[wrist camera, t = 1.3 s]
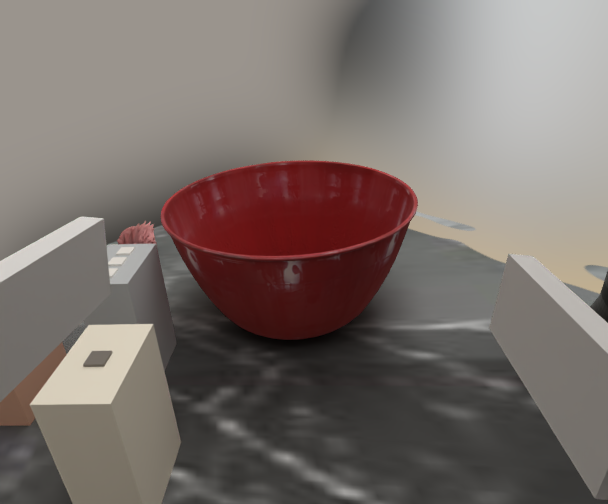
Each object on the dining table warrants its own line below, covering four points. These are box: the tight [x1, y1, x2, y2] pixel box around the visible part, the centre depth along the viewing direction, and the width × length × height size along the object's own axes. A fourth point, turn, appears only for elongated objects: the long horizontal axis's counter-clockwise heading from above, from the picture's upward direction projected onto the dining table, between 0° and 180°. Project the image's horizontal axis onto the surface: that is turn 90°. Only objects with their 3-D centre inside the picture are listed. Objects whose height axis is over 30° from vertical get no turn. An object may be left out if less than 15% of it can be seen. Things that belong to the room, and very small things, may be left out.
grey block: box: [84, 243, 177, 372], centre depth 46 cm, size 8×5×13 cm, turn 179°
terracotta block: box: [0, 342, 66, 426], centre depth 43 cm, size 8×5×13 cm, turn 179°
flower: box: [117, 221, 157, 246], centre depth 70 cm, size 8×8×6 cm
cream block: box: [30, 324, 181, 504], centre depth 34 cm, size 8×5×13 cm, turn 179°
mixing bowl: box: [161, 161, 418, 340], centre depth 55 cm, size 28×28×15 cm
